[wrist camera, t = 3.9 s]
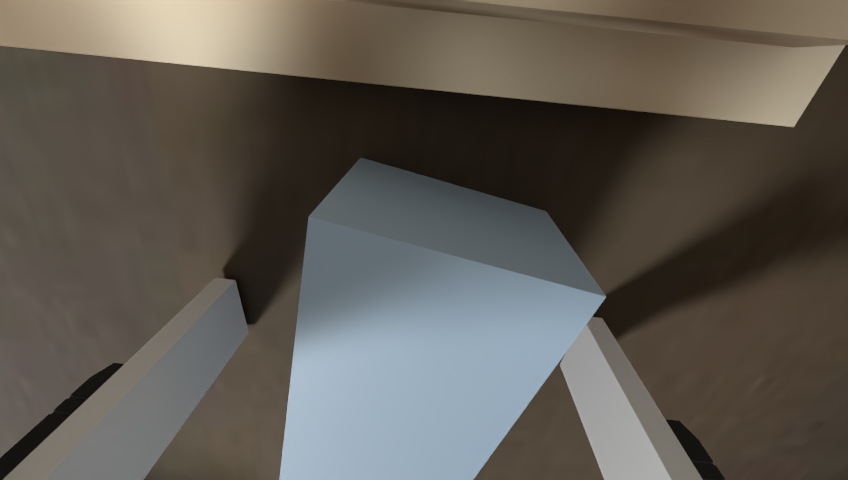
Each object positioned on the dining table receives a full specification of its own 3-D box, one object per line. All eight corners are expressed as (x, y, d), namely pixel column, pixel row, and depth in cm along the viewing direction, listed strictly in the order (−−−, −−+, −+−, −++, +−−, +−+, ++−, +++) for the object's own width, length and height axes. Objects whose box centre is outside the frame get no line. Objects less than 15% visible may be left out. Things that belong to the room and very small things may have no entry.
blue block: (362, 155, 10) (308, 216, 6) (544, 207, 10) (606, 297, 6) (319, 391, 15) (277, 503, 12) (436, 417, 16) (434, 532, 12)
